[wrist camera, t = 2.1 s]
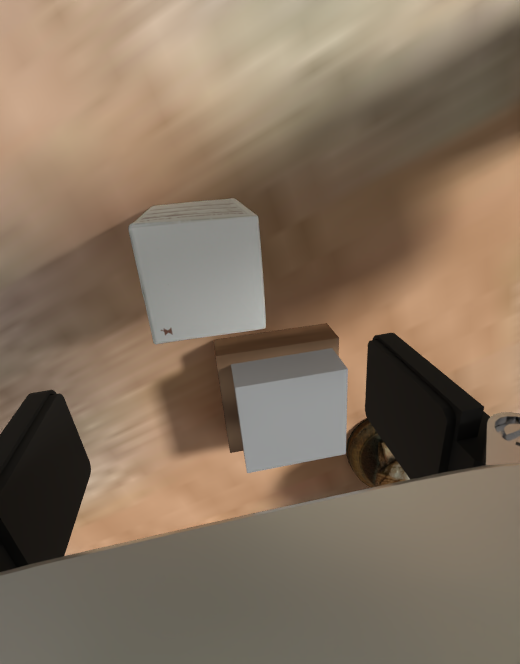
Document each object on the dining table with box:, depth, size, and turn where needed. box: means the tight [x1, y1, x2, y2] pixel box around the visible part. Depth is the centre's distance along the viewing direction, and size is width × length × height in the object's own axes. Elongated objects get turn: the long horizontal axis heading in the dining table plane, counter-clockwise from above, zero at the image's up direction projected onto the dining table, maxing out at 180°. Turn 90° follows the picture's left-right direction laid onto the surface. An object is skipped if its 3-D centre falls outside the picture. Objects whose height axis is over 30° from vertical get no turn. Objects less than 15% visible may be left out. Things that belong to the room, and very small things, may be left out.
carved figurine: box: [346, 419, 410, 488], centre depth 41 cm, size 18×12×17 cm, turn 49°
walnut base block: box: [214, 323, 339, 453], centre depth 38 cm, size 12×12×4 cm
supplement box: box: [129, 198, 266, 344], centre depth 27 cm, size 7×7×13 cm
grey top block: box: [231, 348, 348, 473], centre depth 35 cm, size 10×10×4 cm
